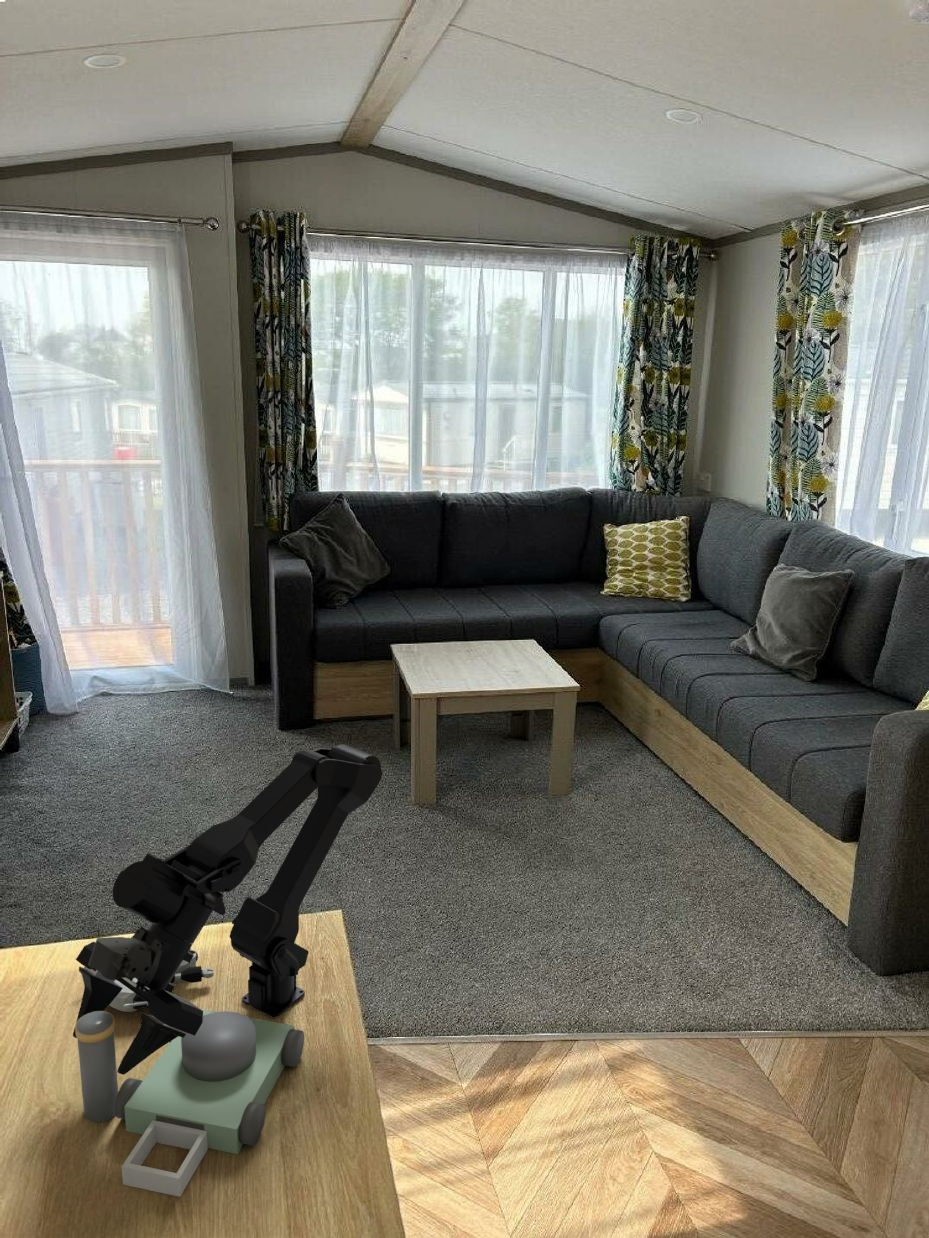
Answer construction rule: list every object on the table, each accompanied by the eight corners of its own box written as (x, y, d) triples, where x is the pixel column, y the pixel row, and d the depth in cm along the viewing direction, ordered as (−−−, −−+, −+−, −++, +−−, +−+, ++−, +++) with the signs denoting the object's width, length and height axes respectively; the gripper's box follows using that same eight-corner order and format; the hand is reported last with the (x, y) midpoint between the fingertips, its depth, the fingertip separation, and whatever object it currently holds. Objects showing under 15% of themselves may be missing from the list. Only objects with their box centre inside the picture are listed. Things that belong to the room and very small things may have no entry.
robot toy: (175, 953, 151) (79, 989, 140) (176, 926, 150) (79, 960, 139) (219, 991, 143) (120, 1033, 132) (220, 964, 142) (120, 1003, 131)
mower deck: (185, 1027, 134) (183, 986, 132) (305, 1049, 131) (304, 1008, 129) (81, 1175, 110) (77, 1127, 108) (223, 1206, 107) (221, 1158, 105)
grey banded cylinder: (104, 1091, 122) (97, 1005, 119) (128, 1105, 120) (122, 1019, 117) (75, 1113, 119) (67, 1025, 115) (98, 1128, 117) (91, 1040, 113)
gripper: (85, 883, 122) (6, 1003, 117) (179, 943, 111) (96, 1078, 106) (143, 912, 130) (71, 1026, 125) (235, 971, 119) (162, 1098, 114)
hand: (97, 1055), depth 117 cm, fingers open, 9 cm apart
